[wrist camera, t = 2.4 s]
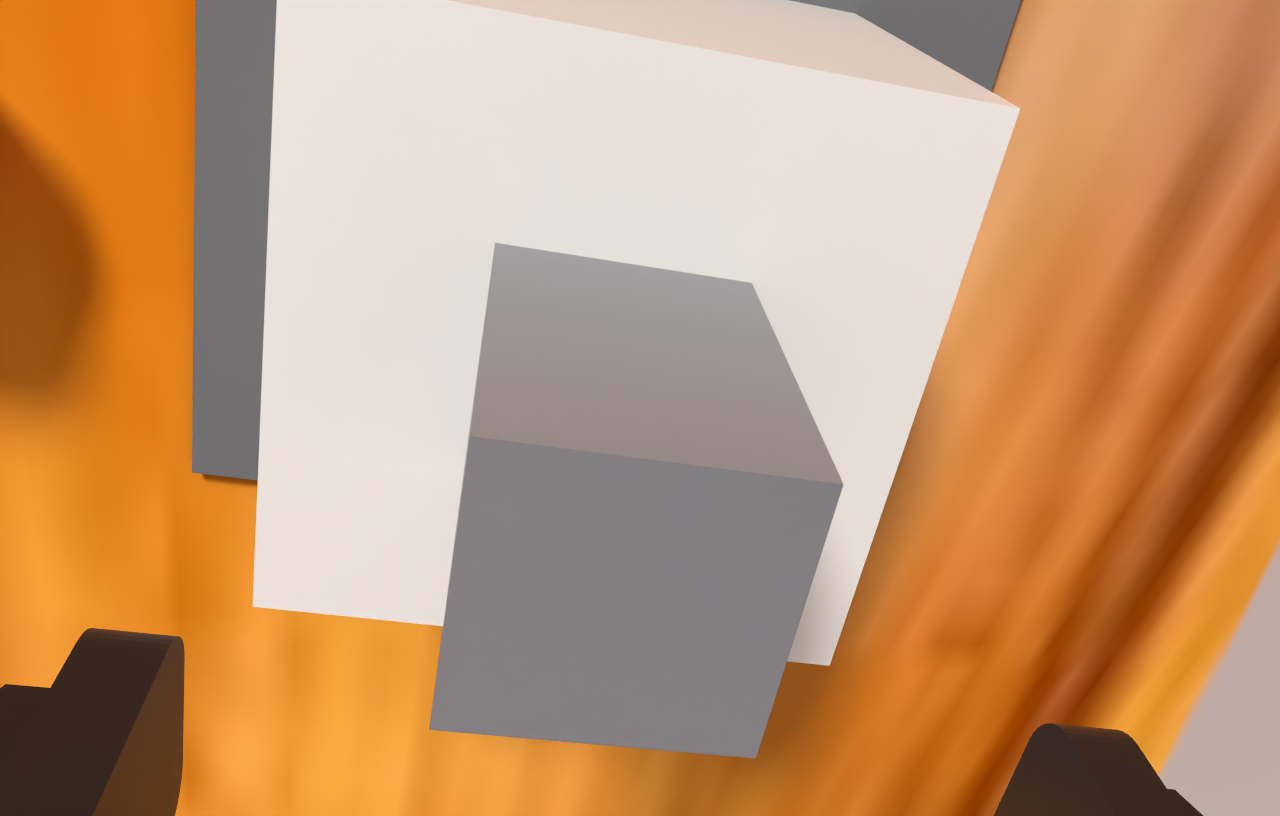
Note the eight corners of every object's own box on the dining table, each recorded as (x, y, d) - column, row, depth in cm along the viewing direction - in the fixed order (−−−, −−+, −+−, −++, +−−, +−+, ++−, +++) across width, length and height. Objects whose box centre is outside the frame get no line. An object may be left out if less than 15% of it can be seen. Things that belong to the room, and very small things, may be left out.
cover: (854, 13, 25) (1252, 241, 11) (746, 421, 29) (925, 949, 15) (379, -81, 23) (122, 44, 9) (344, 366, 28) (140, 901, 14)
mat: (1057, -133, 24) (1064, -132, 24) (837, 542, 32) (840, 550, 32) (204, -325, 21) (199, -328, 21) (196, 464, 29) (192, 472, 29)
